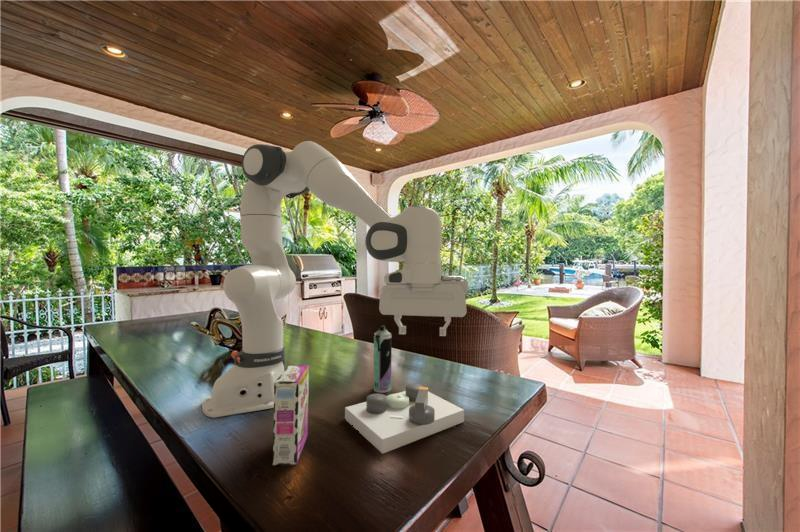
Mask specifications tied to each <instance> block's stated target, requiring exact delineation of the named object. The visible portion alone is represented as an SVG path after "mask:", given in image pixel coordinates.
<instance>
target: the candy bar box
mask: <svg viewBox="0 0 800 532" xmlns="http://www.w3.org/2000/svg"><path fill="white" fill-rule="evenodd" d="M309 386H310V365H288V366H287V367H286V369H284V372H283V373H282V374H281V375H280V377H279V378H278V379H277V380H276V381H275V382H274V407H273V429H272V431H273V432H272V433H273V436H272V437H273V439H272V440H273V441H272V466H274V467H275V466H276V465H281V466H296V465H298V462H299V460H300V457H301V455H302V451H303V448H304V446H305V444H306V442H307V439H308V436H309V395H310V393H309V391H310V387H309Z"/></svg>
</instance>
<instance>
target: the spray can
mask: <svg viewBox="0 0 800 532" xmlns="http://www.w3.org/2000/svg"><path fill="white" fill-rule="evenodd" d="M373 391H374V392H375V393H377V394H385V393H389V392H391V391H392V333H391V332H389V331H388V329H387V328H386V325H381V326H379V329H378V330H377V331H376V332H374V336H373Z"/></svg>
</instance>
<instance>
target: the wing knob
mask: <svg viewBox="0 0 800 532" xmlns="http://www.w3.org/2000/svg"><path fill="white" fill-rule="evenodd" d="M428 392H429V387H428V386H426V387H425V386H424V387H419V391H418V395H417V398H416V401H415V405H413V406H411V407H410V408H409V420H410V421H411V422H412V423H414V424H418V425H427V424H431V423H432V422H434V420H435V410H434V408H433V407H431V406H429V405H428Z"/></svg>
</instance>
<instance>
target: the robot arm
mask: <svg viewBox="0 0 800 532" xmlns="http://www.w3.org/2000/svg"><path fill="white" fill-rule="evenodd" d="M242 156H243V157H242V161H241V168H242V172H243V174H244V176H245V177H246V179H248V181H246V182H245V183H244V185H243V187H242V192H241V198H240V209H239V211H240V212H239V213H240V215H239V216H240V217H239V219H240V238H241V239H240V240H241V241H240V243H241V245H242V247H243V248H244V249H245V250H246V251H247V253H248V254H249V257H250V259H251V262H252V264H245V265H242V266H241V265H240V266H238V267H236V268H233V269H231V270H230V271H228V272H227V273H226V275H225V277H224V279H223V283H222V284H223V285H222V286H223V291H224V295H225V296H226V297H227V299H228V300H229V301H231V302H232V303H233V304H234V306H235V307H236V310H237V312H238V315H239V317H240V321H241V322H240V324H241V332H242V335H241V336H242V337H241V338H242V350H240V351H238V350H232V352H231V354H230V355H231V357H232V359H233V360H234V365H233V366H231V368H229V369H228V370H227V371H225V372H224V373H223V374H221V375H220V376H219V377H218V378H217V379H216V380H215V382H214V383H213V386H212V390H211V394H210V395H209V396H207V397H205V398H204V399H203V401H202V404H201V410H202V414H204V416H206V417H209V418H219V417H220V418H221V417H225V416H232V415H237V414H244V413H250V412H256V411H262V410H268V409H274V382H275V381H276V380H277V379H278V378H279V377H280V375H281V374H282V373H283V372H284V371H285V364H286V350H285V349H286V348H285V346H284V321H283V319H282V318H281V317H280V316H279V315H278V313H277V310H276V305H275V300H280V299H283V298H285V297H286V296H288V295H289V294H290V293H292V292H293V291H294V290H295V287H296V285H297V279H296V274H295V273H294V272H293V270H292V269H291V268H290V265H289V262H288V259H287V256H286V253H285V249H284V244H283V231H282V230H283V229H282V228H283V227H282V225H283V224H282V210H281V209H282V208H281V206H282V205H281V204H282V201H283V199H284V197H286V198H287V199H290V200H291V199H295V198H296V197H298V196H300V195H305V194H307V193H309V192H310V193H312V194H313V195H314V196H315V197H316V198H317V199H318V200H320V201H321V202H323V203H324V204H326V205H327V206H330V207H332V208H334V209H338V210H341V211H343V212H346V213H349V214H351V215H353V216H354V217H357V218H358V219H360V220H361V221H362V222H364V223H365V224H366V225H367V226H368V227H369V229H368V231H367V232H366V235H365V241H364V242H365V248H366V251H367V253H368V254H369V255H370V256H371V258H373V259H375V260H377V261H380V262H392V263H400V264H403V268H402V269H397V270H395V271H392V272H390V273H386V274H385V275H384V277H383V281H384V283H385V284H384V285H383V286H382V287H381V290H380V296H379V303H378V304H379V305H378V310H379V312H380V314H381V315H385V316H388V315H389V316H394V317H393V320H394V322H395V324H396V325H397V327H398V335H406V334H407V325H404V324H403V323H402V320H401V319H402V318H403V317H402V316H411V317H412V316H416V317H417V316H419V317H444V322H445V323H444V325H443V326H440V327H439V337H446V336H447V329H448V326H449V325H450V324H451V322H452V317H453V318H463V317H465V316H466V314H467V311H468V310H467V299H466V296H467V294H468V292H469V281H467V279H466V278H464V277H462V276H460V275H454V276H453V275H442V274H443V273H442V271H443V269H442V268H443V264H442V257H441V248H442V244H443V237H442V236H443V235H442V234H443V232H442V221H441V217H440V216H441V215H440V214H439V213H438V211H436V210H435V209H433V208H431V207H427V206H424V205H410V206H409V205H408V206H406V208H405V209H404V210H403V211H402V212H400V213H398V214H397V215H395V216H392V215H391V214H389V212H387V211H386V210H385V208H384V207H382V206H381V205H380V204H379V203H378V202H377V201H376V200H375V199H374V198H372V197H371V196H370V194H369V193H368V192H367V190H365V189H364V187H363V186H362V185H361V184H360V183H359V181H357V179H356V178H355V176H353V174H352V173H351V172H350V171H349V170H348V169H347V167H346V166H345V165H344V164H343V163H342V162H341V161H340V160H339V159H338V158H337V157H336V156H334V154H332V153H331V152H330V151H329V150H327V149H326V148H324V147H323V146H322V145H320V144H318V143H317V142H314V141H312V140H306V141H301V142H300V143H298V144H297V145H295V147H293V149H292V150H291V151H285V150H283V148H282V147H281V146H275V145H274V146H273V145H269V144H260V143H259V144H257V143H256V144H253V145H251V146H250V147H248V148H247V149H246V151H245V152H244V154H243V155H242Z"/></svg>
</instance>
